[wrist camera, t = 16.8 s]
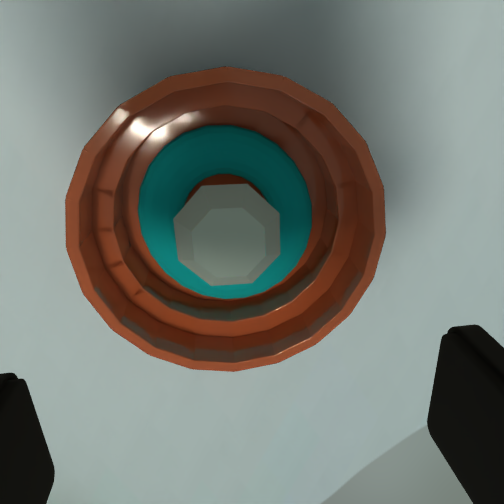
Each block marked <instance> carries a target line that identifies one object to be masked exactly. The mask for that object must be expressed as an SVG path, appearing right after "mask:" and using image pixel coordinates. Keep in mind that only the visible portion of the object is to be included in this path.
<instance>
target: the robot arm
mask: <svg viewBox="0 0 504 504" xmlns="http://www.w3.org/2000/svg"><path fill="white" fill-rule="evenodd" d="M427 424H428V429H429V432H430V435H431V437H432V438H433V440H434V442H435V443H436V445H437V446H438V448H439V449H440V451H441V453H442V454H443V456H444V457H445V459H446V461H447V462H448V464H449V466H450V467H451V469H452V470H453V472H454V473H455V475H456V477H457V478H458V480H459V481H460V483H461V484H462V486H463V488H464V489H465V491H466V493H467V494H468V496H469V497H470V499H471V501H472V502H473V504H504V348H503V347H502V346H501V345H500V344H499V343H498V342H497V341H496V340H495V339H494V338H493V337H491V336H490V335H489V334H488V333H487V332H486V331H485V330H484V329H483V328H482V327H480V326H479V325H466V326H457V327H452V328H450V329H449V330H448V333H447V334H445V335H443V336H442V339H441V344H440V350H439V355H438V361H437V367H436V373H435V378H434V384H433V390H432V396H431V401H430V407H429V413H428V419H427ZM54 474H55V471H54V465H53V462H52V459H51V456H50V453H49V450H48V447H47V444H46V441H45V438H44V435H43V432H42V429H41V426H40V423H39V420H38V417H37V414H36V411H35V408H34V405H33V402H32V398H31V395H30V392H29V389H28V386H27V384H26V381H25V380H24V379H18V378H17V376H16V375H15V374H14V373H4V374H0V504H46V503H47V500H48V497H49V494H50V491H51V489H52V486H53V482H54Z"/></svg>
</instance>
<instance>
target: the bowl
mask: <svg viewBox="0 0 504 504" xmlns="http://www.w3.org/2000/svg"><path fill="white" fill-rule="evenodd" d="M207 125H234V126H238V127H241V128H245V129H249V130H253V131H256V132H258V133H259V134H261V135H263V136H264V137H266V138H268V139H270V140H271V141H273V142H275V143H276V144H278V145H279V146H280V147H281V148H282V149H283V150H284V152H285V153H286V154H287V155H288V156H289V157H290V158H291V159H292V160H293V161H294V162H295V164H296V166H297V167H298V169H299V171H300V173H301V174H302V176H303V178H304V180H305V181H306V184H307V188H308V192H309V196H310V199H311V203H312V228H311V232H310V236H309V240H308V244H307V247H306V249H305V251H304V253H303V255H302V256H301V258H300V260H299V262H298V264H297V265H296V267H295V268H294V269H293V270H292V271H291V272H290V273H289V274H288V275H287V276H286V277H285V278H284V279H283V280H282V281H281V282H279V283H278V284H276V285H274V286H273V287H271V288H269V289H268V290H266V291H265V292H262V293H258V294H255V295H252V296H249V297H245V298H232V299H221V298H216V297H210V296H205V295H201V294H199V293H197V292H195V291H192V290H190V289H188V288H186V287H184V286H182V285H181V284H179V283H178V282H177V281H175V280H174V279H173V278H172V277H170V276H169V275H168V274H166V273H165V272H164V270H163V269H162V268H161V267H160V265H159V264H158V263H157V262H156V260H155V259H154V258H153V257H152V255H151V254H150V251H149V249H148V247H147V245H146V242H145V240H144V238H143V236H142V233H141V228H140V222H139V216H138V202H139V192H140V186H141V184H142V181H143V179H144V176H145V174H146V171H147V169H148V166H149V164H150V163H151V162H152V161H153V159H154V158H155V157H156V156H157V154H158V153H159V152H160V151H161V149H162V148H163V147H164V146H165V145H167V144H168V143H170V142H171V141H172V140H174V139H175V138H177V137H178V136H180V135H181V134H183V133H185V132H188V131H191V130H194V129H197V128H200V127H203V126H207ZM229 184H248V185H249V186H250V187H251V188H253V189H254V190H255V191H256V192H257V193H258V194H259V195H260V196H261V197H262V198H263V199H265V198H264V196H263V195H262V193H261V191H260V190H259V189H258V188H257V187H256V186H255V185H254V184H253V183H251V182H250V181H248V180H246V179H244V178H242V177H240V176H236V175H232V174H217V175H214V176H211V177H208V178H205V179H204V180H202V181H201V182H199V183H198V184H197V185H196V186H195V187H194V188H193V189H192V191H191V192H190V193H189V195H188V197H187V200H186V202H185V205H186V203H187V202H188V201H189V200H190V199H191V198H192V197H193V195H194V194H195V193H196V192H197V191H198V190H199V188H200V187H201V186H207V185H229ZM265 200H266V199H265ZM65 215H66V248H67V252H68V255H69V258H70V260H71V263H72V266H73V268H74V271H75V274H76V277H77V279H78V282H79V285H80V287H81V290H82V292H83V294H84V296H85V297H86V298H87V299H88V301H89V302H90V303H91V304H92V306H93V307H94V308H95V309H96V311H97V312H98V313H99V314H100V316H101V317H102V318H103V319H104V321H105V322H106V323H107V324H108V326H109V327H110V328H111V329H112V330H113V331H114V332H116V333H117V334H119V335H120V336H122V337H123V338H125V339H126V340H128V341H129V342H131V343H132V344H134V345H135V346H137V347H138V348H139V349H141V350H142V351H144V352H145V353H147V354H150V356H153V357H156V358H159V359H162V360H165V361H168V362H171V363H174V364H177V365H181V366H184V367H187V368H190V369H197V370H214V371H231V372H235V371H240V370H245V369H250V368H255V367H260V366H265V365H270V364H275V363H277V362H278V363H279V362H281V361H283V360H285V359H287V358H289V357H291V356H293V355H295V354H297V353H299V352H301V351H303V350H306V349H308V348H310V347H312V346H314V345H316V343H318V342H320V341H321V340H322V339H323V338H324V337H325V336H326V335H328V334H329V333H330V332H331V331H332V330H333V329H334V328H336V327H337V326H338V325H339V324H340V323H341V322H342V321H343V320H345V319H346V318H347V317H348V316H349V315H350V314H351V313H352V311H353V309H354V308H355V306H356V305H357V303H358V302H359V300H360V299H361V297H362V295H363V294H364V292H365V291H366V289H367V288H368V286H369V285H370V283H371V282H372V280H373V278H374V275H375V271H376V268H377V264H378V261H379V257H380V254H381V250H382V247H383V243H384V240H385V234H386V226H385V200H384V186H383V184H382V181H381V179H380V176H379V174H378V171H377V168H376V166H375V163H374V161H373V158H372V156H371V153H370V151H369V148H368V145H367V143H366V141H365V140H364V139H363V138H362V137H361V135H360V134H359V133H358V132H357V131H356V130H355V128H354V127H353V126H352V125H351V124H350V123H349V122H348V120H347V119H346V118H345V117H344V116H343V115H342V114H341V112H340V111H339V110H338V109H337V108H336V107H335V105H334V104H333V103H331V102H330V101H328V100H326V99H324V98H323V97H321V96H319V95H317V94H316V93H314V92H312V91H310V90H308V89H307V88H305V87H303V86H301V85H299V84H298V83H296V82H294V81H292V80H291V79H289V78H287V77H283V76H282V75H277V74H271V73H265V72H259V71H253V70H247V69H241V68H235V67H229V66H228V67H226V66H225V67H219V68H213V69H208V70H202V71H197V72H191V73H185V74H180V75H174V76H170V77H167V78H165V79H164V80H162V81H160V82H158V83H157V84H155V85H153V86H151V87H150V88H148V89H146V90H145V91H143V92H141V93H139V94H138V95H136V96H134V97H132V98H131V99H129V100H127V101H125V102H124V103H122V104H120V105H119V106H118V107H117V108H116V109H115V110H114V112H113V113H112V114H111V115H110V116H109V118H108V119H107V120H106V121H105V122H104V124H103V125H102V126H101V127H100V128H99V130H98V131H97V132H96V133H95V134H94V136H93V137H92V138H91V139H90V140H89V141H88V143H87V144H86V145H85V146H84V149H83V150H82V152H81V155H80V158H79V161H78V164H77V166H76V169H75V172H74V175H73V178H72V180H71V183H70V186H69V189H68V192H67V195H66V199H65Z"/></svg>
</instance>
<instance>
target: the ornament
mask: <svg viewBox="0 0 504 504" xmlns="http://www.w3.org/2000/svg"><path fill="white" fill-rule="evenodd" d="M217 174H232V175H236V176H240V177H242V178H244V179H246V180H248V181H250V182H251V183H253V184H254V185H255V186H256V187H257V188H258V189H259V190H260V191H261V193H262V195H263V196H264V198H265V199H266V200H265V199H263V198H262V197H261V196H260V195H259V194H258V193H257V192H256V191H255V190H254V189H253V188H251V187H250V186H249V185H248V184H229V185H207V186H201V187H200V188H199V190H198V191H197V192H196V193H195V194H194V195H193V197H192V198H191V199H190V200H189V201H188V202H187V203H186V205H185V202H186V200H187V197H188V195H189V193H190V192H191V191H192V189H193V188H194V187H195V186H196V185H197V184H198V183H199V182H201V181H202V180H204V179H205V178H208V177H211V176H214V175H217ZM138 216H139V222H140V228H141V233H142V236H143V238H144V240H145V242H146V245H147V247H148V249H149V251H150V254H151V255H152V257H153V258H154V259H155V260H156V262H157V263H158V264H159V265H160V267H161V268H162V269H163V270H164V272H165V273H166V274H168V275H169V276H170V277H172V278H173V279H174V280H175V281H177V282H178V283H179V284H181V285H182V286H184V287H186V288H188V289H190V290H192V291H195V292H197V293H199V294H201V295H205V296H210V297H216V298H221V299H232V298H245V297H249V296H252V295H255V294H258V293H262V292H265V291H266V290H268V289H269V288H271V287H273V286H274V285H276V284H278V283H279V282H281V281H282V280H283V279H284V278H285V277H286V276H287V275H288V274H289V273H290V272H291V271H292V270H293V269H294V268H295V267H296V265H297V264H298V262H299V260H300V258H301V256H302V255H303V253H304V251H305V249H306V247H307V244H308V240H309V236H310V232H311V228H312V203H311V199H310V196H309V192H308V188H307V184H306V181H305V180H304V178H303V176H302V174H301V173H300V171H299V169H298V167H297V166H296V164H295V162H294V161H293V160H292V159H291V158H290V157H289V156H288V155H287V154H286V153H285V152H284V150H283V149H282V148H281V147H280V146H279V145H278V144H276V143H275V142H273V141H271V140H270V139H268V138H266V137H264V136H263V135H261V134H259V133H258V132H256V131H253V130H249V129H245V128H241V127H238V126H234V125H207V126H203V127H200V128H197V129H194V130H191V131H188V132H185V133H183V134H181V135H180V136H178V137H177V138H175V139H174V140H172V141H171V142H170V143H168V144H167V145H165V146H164V147H163V148H162V149H161V151H160V152H159V153H158V154H157V156H156V157H155V158H154V159H153V161H152V162H151V163H150V164H149V166H148V169H147V171H146V174H145V176H144V179H143V181H142V184H141V186H140V192H139V202H138Z"/></svg>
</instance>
